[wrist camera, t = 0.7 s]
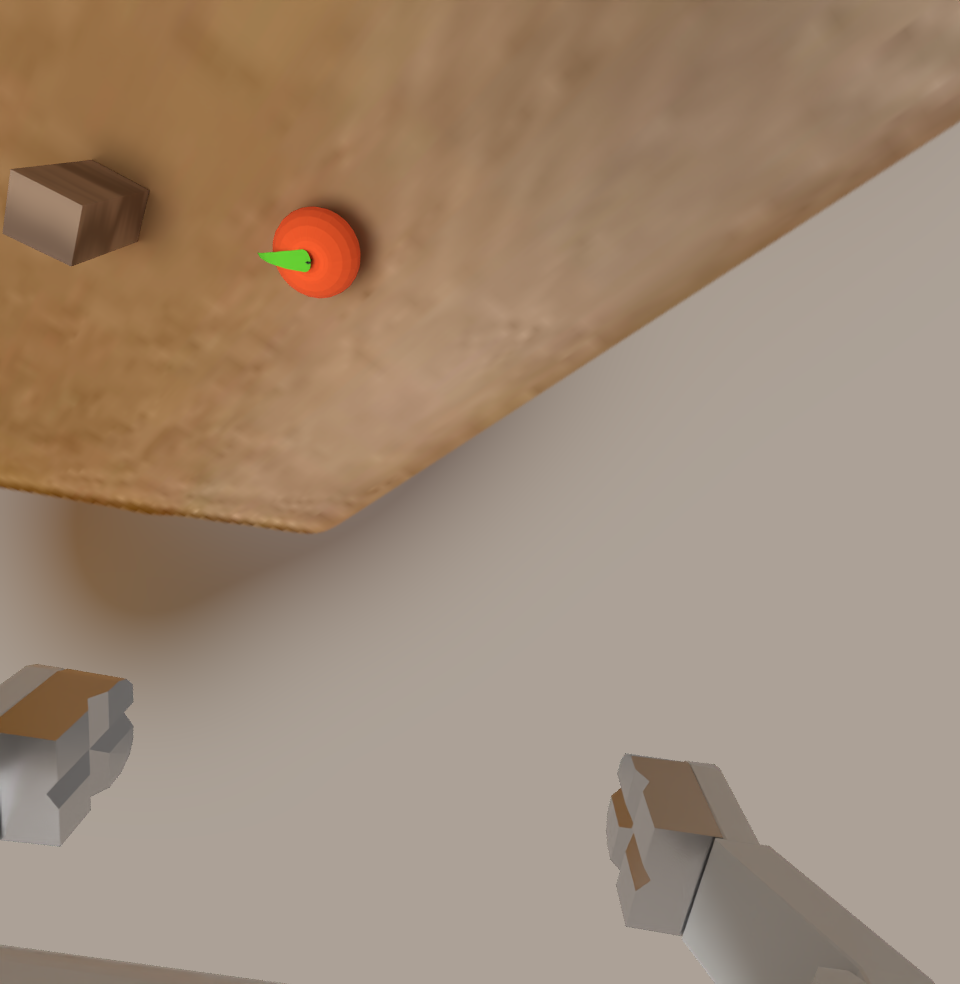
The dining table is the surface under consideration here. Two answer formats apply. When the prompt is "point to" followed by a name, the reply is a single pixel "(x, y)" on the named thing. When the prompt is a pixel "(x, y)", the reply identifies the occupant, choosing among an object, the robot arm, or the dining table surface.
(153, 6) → the dining table surface
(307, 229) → the clementine
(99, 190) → the walnut post
